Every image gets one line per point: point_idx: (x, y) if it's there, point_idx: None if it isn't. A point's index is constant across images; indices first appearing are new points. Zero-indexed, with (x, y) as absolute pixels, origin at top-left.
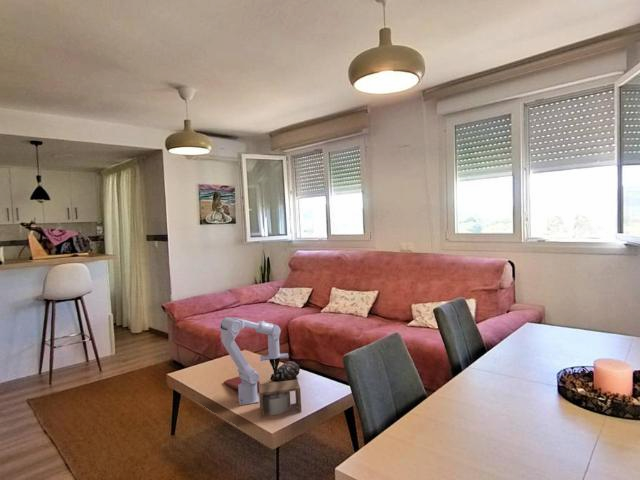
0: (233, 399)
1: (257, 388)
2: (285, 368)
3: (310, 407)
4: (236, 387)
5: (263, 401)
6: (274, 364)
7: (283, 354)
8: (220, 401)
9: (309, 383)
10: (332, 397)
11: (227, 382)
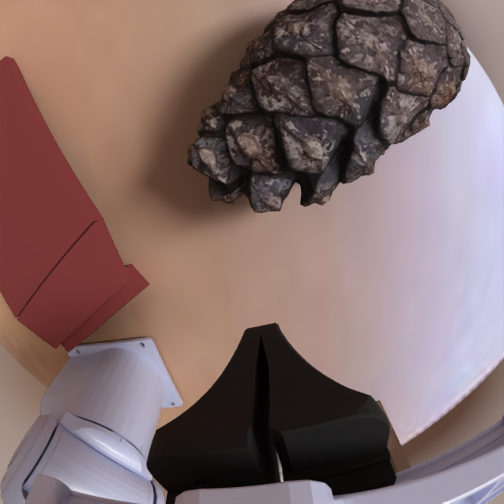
0: (48, 347)
1: (123, 305)
2: (368, 110)
3: (412, 420)
4: (10, 301)
5: None
6: (277, 474)
7: (485, 498)
8: (15, 352)
9: (467, 180)
10: (499, 344)
11: None
